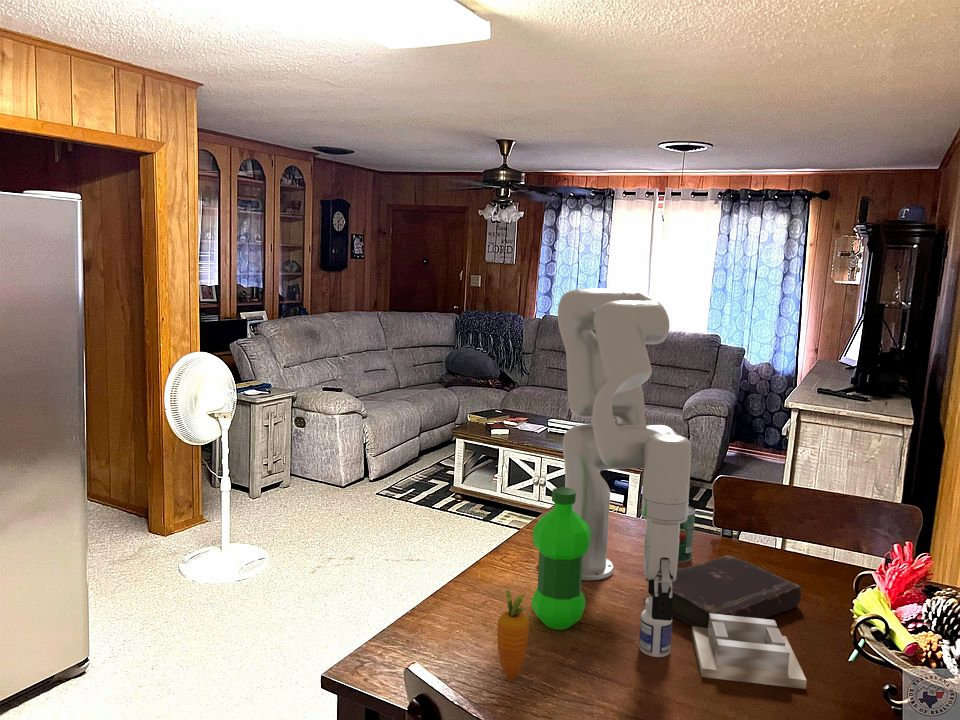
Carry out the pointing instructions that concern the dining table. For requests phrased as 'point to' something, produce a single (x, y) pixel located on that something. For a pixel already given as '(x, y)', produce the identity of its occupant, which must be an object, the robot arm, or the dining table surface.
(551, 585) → the plastic bottle
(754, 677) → the socket board
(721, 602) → the diary
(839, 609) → the dining table surface
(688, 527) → the canned tomato
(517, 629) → the carrot
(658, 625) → the pill bottle
